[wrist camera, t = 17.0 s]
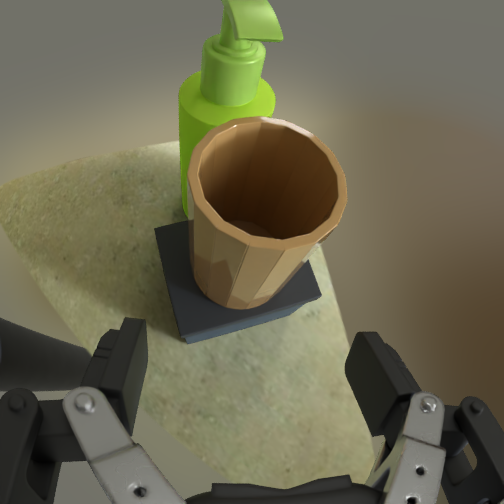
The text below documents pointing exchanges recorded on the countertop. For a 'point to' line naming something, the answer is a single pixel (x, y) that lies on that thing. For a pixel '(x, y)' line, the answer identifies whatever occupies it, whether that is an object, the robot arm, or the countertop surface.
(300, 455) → the countertop surface
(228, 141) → the cup
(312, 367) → the countertop surface
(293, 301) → the dark grey box
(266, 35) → the soap dispenser
